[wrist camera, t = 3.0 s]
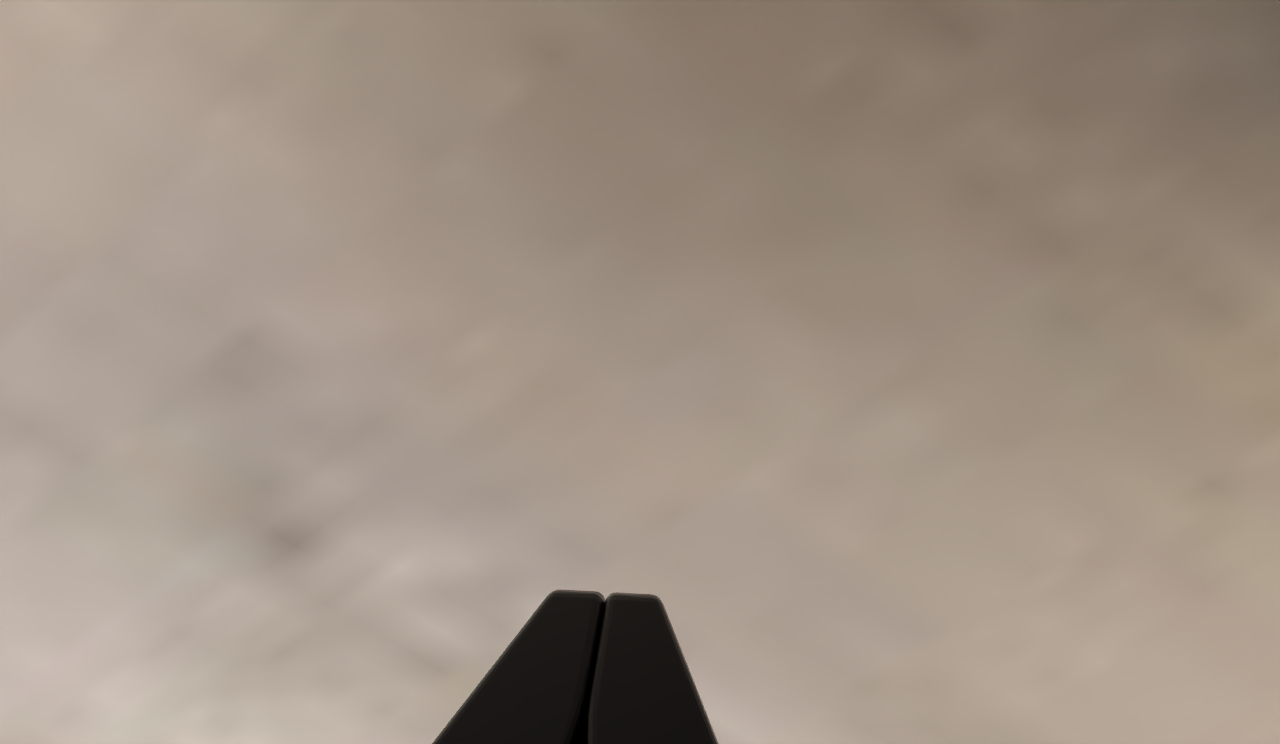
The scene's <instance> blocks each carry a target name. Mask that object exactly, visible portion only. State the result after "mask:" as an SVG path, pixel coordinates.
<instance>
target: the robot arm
mask: <svg viewBox="0 0 1280 744" xmlns="http://www.w3.org/2000/svg"><path fill="white" fill-rule="evenodd" d="M432 744H718V742H717V739H716V737H715V734H714V732H713V729H712V727H711V724H710V722H709V719H708V716H707V714H706V711H705V709H704V706H703V704H702V701H701V699H700V696H699V694H698V691H697V689H696V686H695V684H694V681H693V678H692V676H691V673H690V671H689V668H688V666H687V663H686V661H685V658H684V656H683V653H682V651H681V648H680V646H679V643H678V640H677V638H676V635H675V633H674V630H673V628H672V625H671V623H670V620H669V618H668V615H667V613H666V610H665V608H664V605H663V603H662V601H661V600H660V599H659V598H658V597H657V596H655V595H650V594H632V593H612V594H610V595H609V596H608V597H607V599H606V601H605V598H604V596H603V595H602V594H600V593H599V592H595V591H576V590H556V591H553V592H551V593H550V594H549V595H548V596H547V597H546V598H545V600H544V601H543V602H542V603H541V605H540V606H539V607H538V609H537V610H536V611H535V612H534V614H533V615H532V616H531V618H530V619H529V620H528V621H527V623H526V624H525V625H524V627H523V628H522V629H521V630H520V632H519V633H518V634H517V636H516V637H515V638H514V639H513V641H512V642H511V643H510V645H509V646H508V647H507V648H506V650H505V651H504V652H503V654H502V655H501V656H500V657H499V659H498V660H497V661H496V662H495V664H494V665H493V666H492V668H491V669H490V670H489V671H488V673H487V674H486V675H485V677H484V678H483V679H482V680H481V682H480V683H479V684H478V686H477V687H476V688H475V689H474V691H473V692H472V693H471V695H470V696H469V697H468V698H467V700H466V701H465V702H464V704H463V705H462V706H461V707H460V709H459V710H458V711H457V713H456V714H455V715H454V716H453V718H452V719H451V720H450V722H449V723H448V724H447V725H446V727H445V728H444V729H443V731H442V732H441V733H440V734H439V736H438V737H437V738H436V739H435V741H434V742H433V743H432Z"/></svg>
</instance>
